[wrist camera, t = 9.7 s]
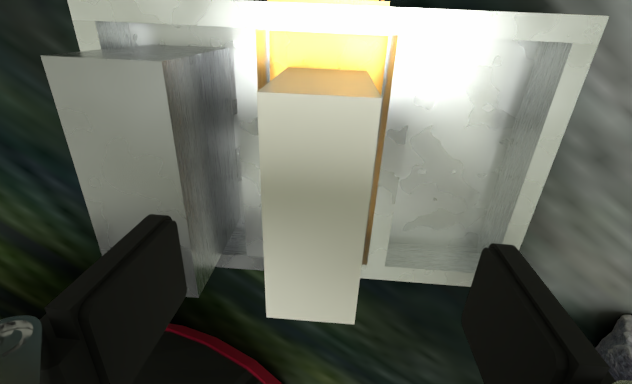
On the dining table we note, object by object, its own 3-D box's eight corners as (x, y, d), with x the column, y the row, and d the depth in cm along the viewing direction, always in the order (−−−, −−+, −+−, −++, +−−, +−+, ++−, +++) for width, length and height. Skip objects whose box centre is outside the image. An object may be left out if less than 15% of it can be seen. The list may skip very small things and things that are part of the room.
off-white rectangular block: (366, 71, 17) (382, 98, 11) (350, 236, 21) (354, 324, 15) (288, 67, 17) (256, 91, 11) (288, 232, 21) (266, 317, 15)
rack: (565, 12, 16) (733, 3, 9) (484, 257, 22) (546, 358, 15) (108, -7, 17) (-50, -28, 10) (158, 233, 23) (82, 318, 16)
